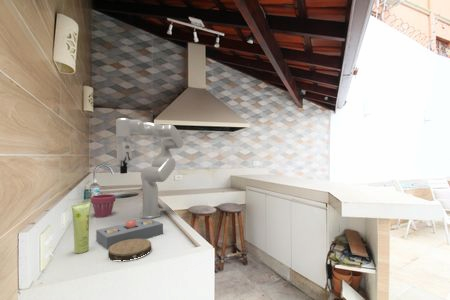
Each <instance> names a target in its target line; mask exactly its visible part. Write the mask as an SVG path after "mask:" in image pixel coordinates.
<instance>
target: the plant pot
mask: <svg viewBox="0 0 450 300" xmlns="http://www.w3.org/2000/svg"><path fill="white" fill-rule="evenodd" d="M115 202H116V195H115V194H113V193H112V194H111V193H110V194H109V193H108V194H106V193H105V194H104V193H103V194H97V195H92V196H91V198H90V204H92V206H93V207H92V208H93V212H94V215H95V217H96V218H107V217H109V216H110V217H111V215H112V212H113V207H114V203H115Z"/></svg>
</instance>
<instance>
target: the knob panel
mask: <svg viewBox="0 0 450 300" xmlns="http://www.w3.org/2000/svg"><path fill="white" fill-rule="evenodd" d="M135 221H136V227H135V228H131V229H126V223H121V224H117V225H112V226H108V227H105V228H104V227H103V228H100V229H96V231H95V232H96V233H95V234H96V235H95V237H96V239H95V241H96V242H97V243H98V244H99V245H101V246H102V247H103V248H104V249H106V250H108V249H109V247H110V246H112V245H113V244H115V243H118V242H120V241H124V240H129V239H146V238H147V239H150V238H153V236H154V237H156V236H160V234H161V235H163V234H164V224H163V223H162V222H160V221H157V220H154V219H153V218H149V219H145V218H144V219H141V220H140V219H139V220H135ZM145 221H152V224H148V225H144V224H143V222H145ZM109 229H118V232H114V233H110V234H107V230H109ZM149 237H150V238H149ZM147 239H146V240H147Z"/></svg>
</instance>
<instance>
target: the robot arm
mask: <svg viewBox="0 0 450 300" xmlns="http://www.w3.org/2000/svg"><path fill="white" fill-rule="evenodd" d="M115 125H116V126H115V130H116V131H115V139H116V140H115V143H116V144H117V146H116V160H117V161H118V163H119V169H120V170H119V174H122V175H123V174H127V173H128V163H130V162H129V161H132V159H133V157H132V156H133V155H132V154H133V153H132V144H131V143H132V136H131V135H139V136H140V135H141V136H148V137H149V136H151V137H155V138H157V137H158V138H162V139H161V141H160V150H161V151H160V153H159V154H158V155H157V156H156V157H155V158H154V159H153V161H152V163H151V166H146V167H143V168H142V169H141V170H140V180H141V185H142V186H141V187H142V213H141V214H140V215H139V217H140V218H141V219H144V220H145V219H155V218H159V217H161V212H166V208H165V207H162V208H161V207H159V188H158V187H159V186H158V184H157V183H162V182H165V181H166V180H167V179H168V178H169V177H170V175H171V174H172V173H173V172H174V170H175V169H176V160H175V158H174V157H173V155H172V154H173V153H172V152H171V150H177V149H181V148H183V146H184V140H183V137H182V136H181V134H180V132H179V131H178V129H177V128H176V126H174V124H160V123H154V122H143V121H142V120H140V119H131V118H127V117H126V118H125V117H119V118H117V119H116V120H115Z"/></svg>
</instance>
